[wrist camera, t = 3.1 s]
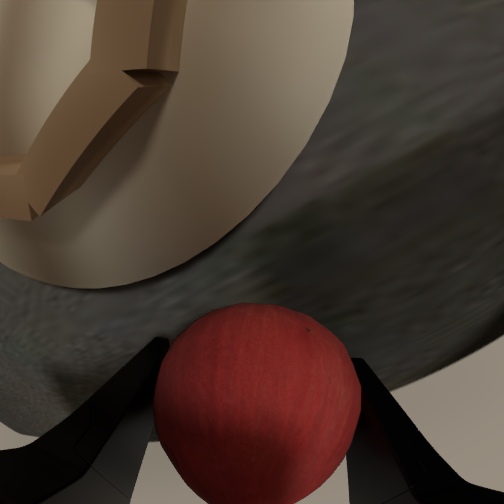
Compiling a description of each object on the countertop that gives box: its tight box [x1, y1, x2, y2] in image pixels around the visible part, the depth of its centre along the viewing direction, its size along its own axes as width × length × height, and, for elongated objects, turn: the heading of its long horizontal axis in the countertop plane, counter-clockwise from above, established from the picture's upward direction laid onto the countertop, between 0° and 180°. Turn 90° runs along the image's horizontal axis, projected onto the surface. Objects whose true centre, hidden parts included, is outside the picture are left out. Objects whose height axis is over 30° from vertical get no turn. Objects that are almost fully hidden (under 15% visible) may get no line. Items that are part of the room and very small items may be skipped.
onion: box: [152, 303, 361, 504], centre depth 8 cm, size 6×6×8 cm
